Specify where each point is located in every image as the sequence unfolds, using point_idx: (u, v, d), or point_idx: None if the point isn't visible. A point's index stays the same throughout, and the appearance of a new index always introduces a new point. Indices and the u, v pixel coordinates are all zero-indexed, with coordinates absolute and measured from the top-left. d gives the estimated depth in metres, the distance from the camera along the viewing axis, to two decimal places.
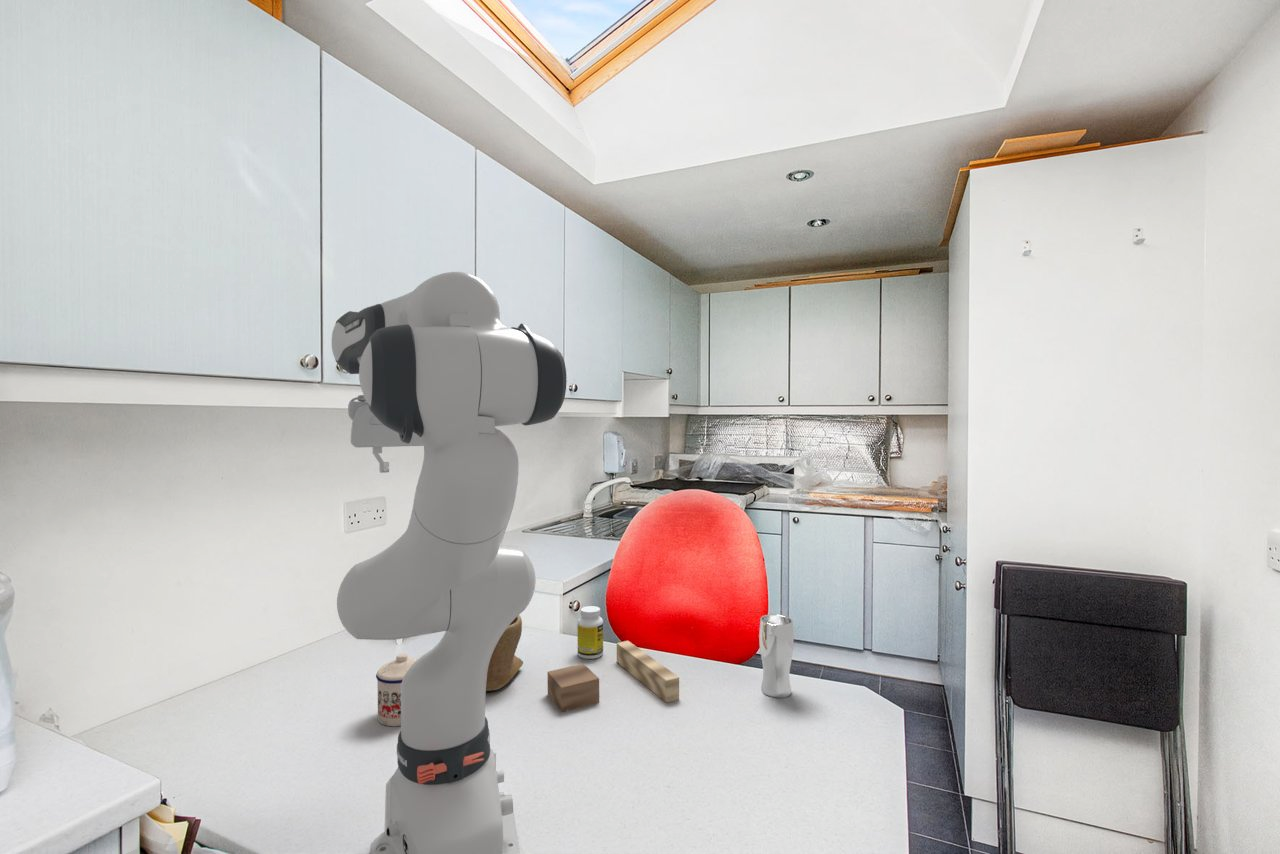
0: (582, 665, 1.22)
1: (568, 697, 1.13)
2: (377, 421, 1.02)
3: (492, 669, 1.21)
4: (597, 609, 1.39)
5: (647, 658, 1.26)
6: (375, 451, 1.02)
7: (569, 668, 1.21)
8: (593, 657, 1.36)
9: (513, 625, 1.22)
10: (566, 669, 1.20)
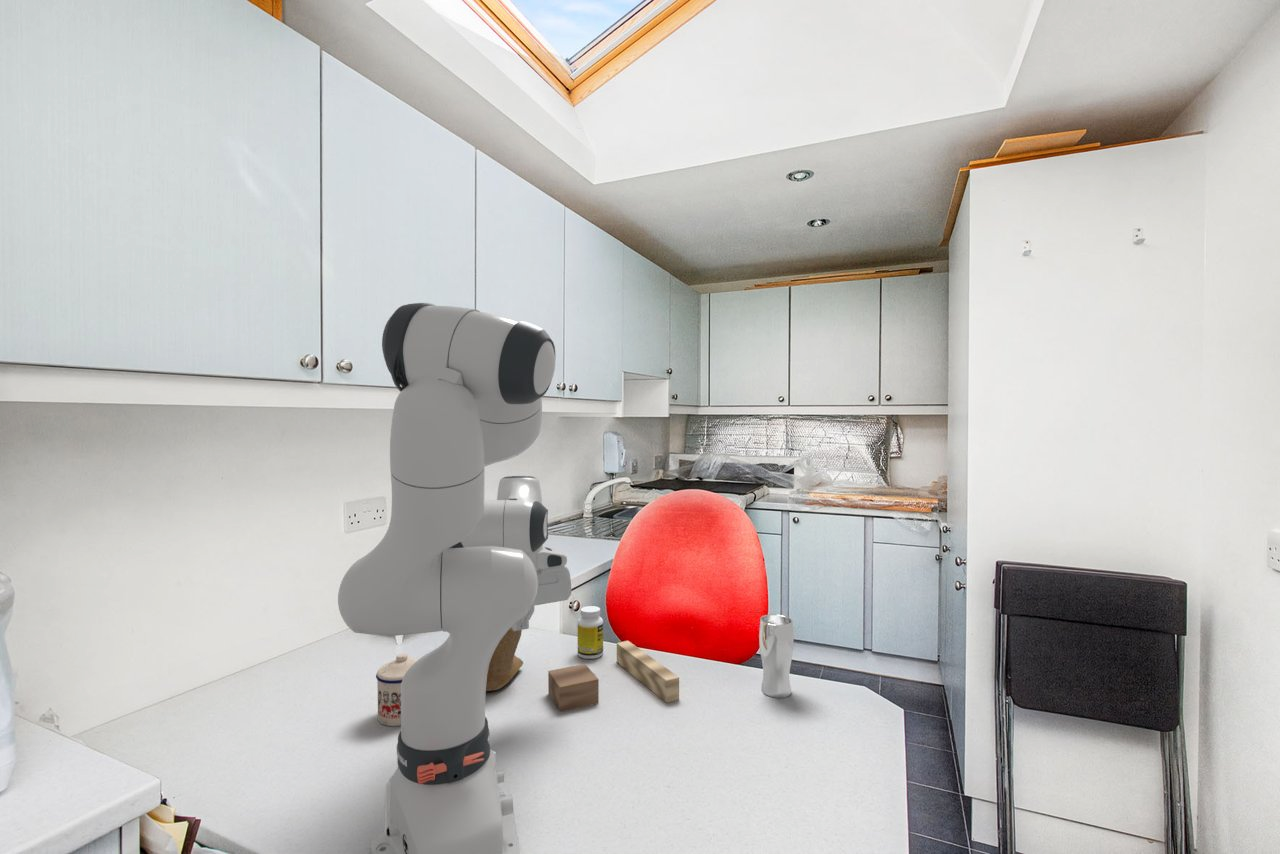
0: (583, 665, 1.22)
1: (566, 697, 1.13)
2: None
3: (492, 669, 1.21)
4: (597, 609, 1.39)
5: (647, 658, 1.26)
6: None
7: (570, 668, 1.21)
8: (593, 657, 1.36)
9: None
10: (567, 669, 1.20)
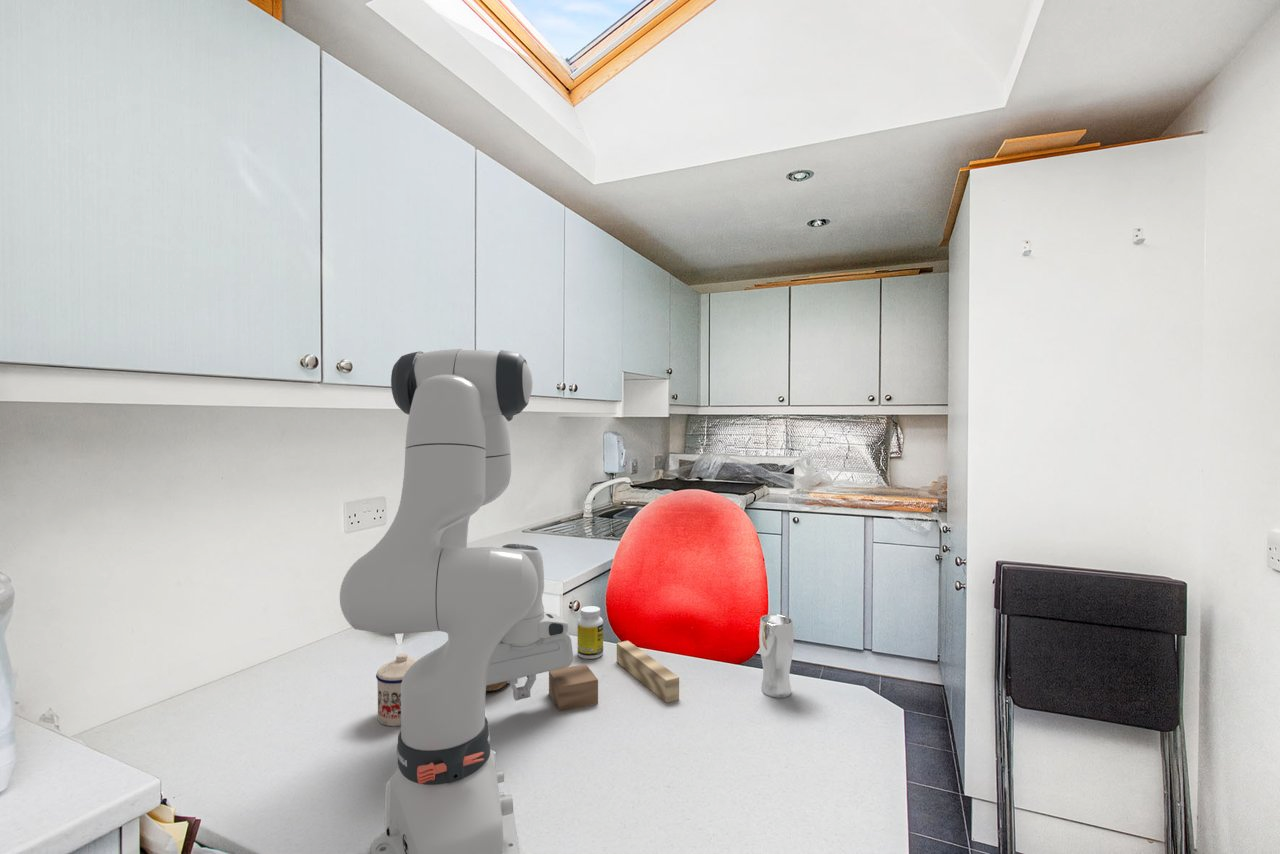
0: (584, 665, 1.22)
1: (566, 697, 1.13)
2: (493, 660, 1.08)
3: None
4: (597, 609, 1.39)
5: (647, 658, 1.26)
6: (512, 682, 1.10)
7: (571, 668, 1.21)
8: (593, 657, 1.36)
9: None
10: (567, 669, 1.20)
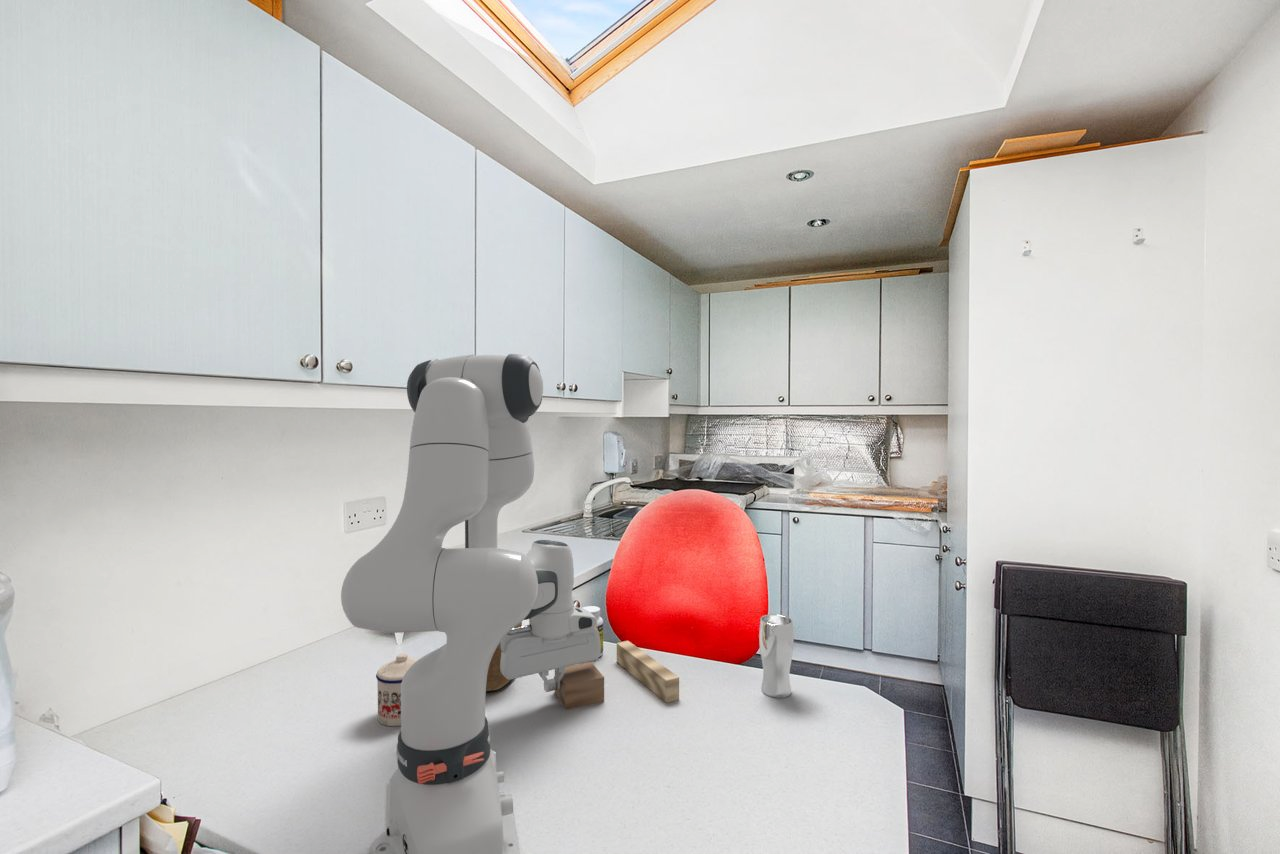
0: (590, 663, 1.23)
1: (572, 694, 1.14)
2: (525, 652, 1.11)
3: (492, 669, 1.21)
4: (597, 609, 1.39)
5: (647, 658, 1.26)
6: (543, 675, 1.14)
7: (576, 666, 1.22)
8: None
9: None
10: (573, 667, 1.21)
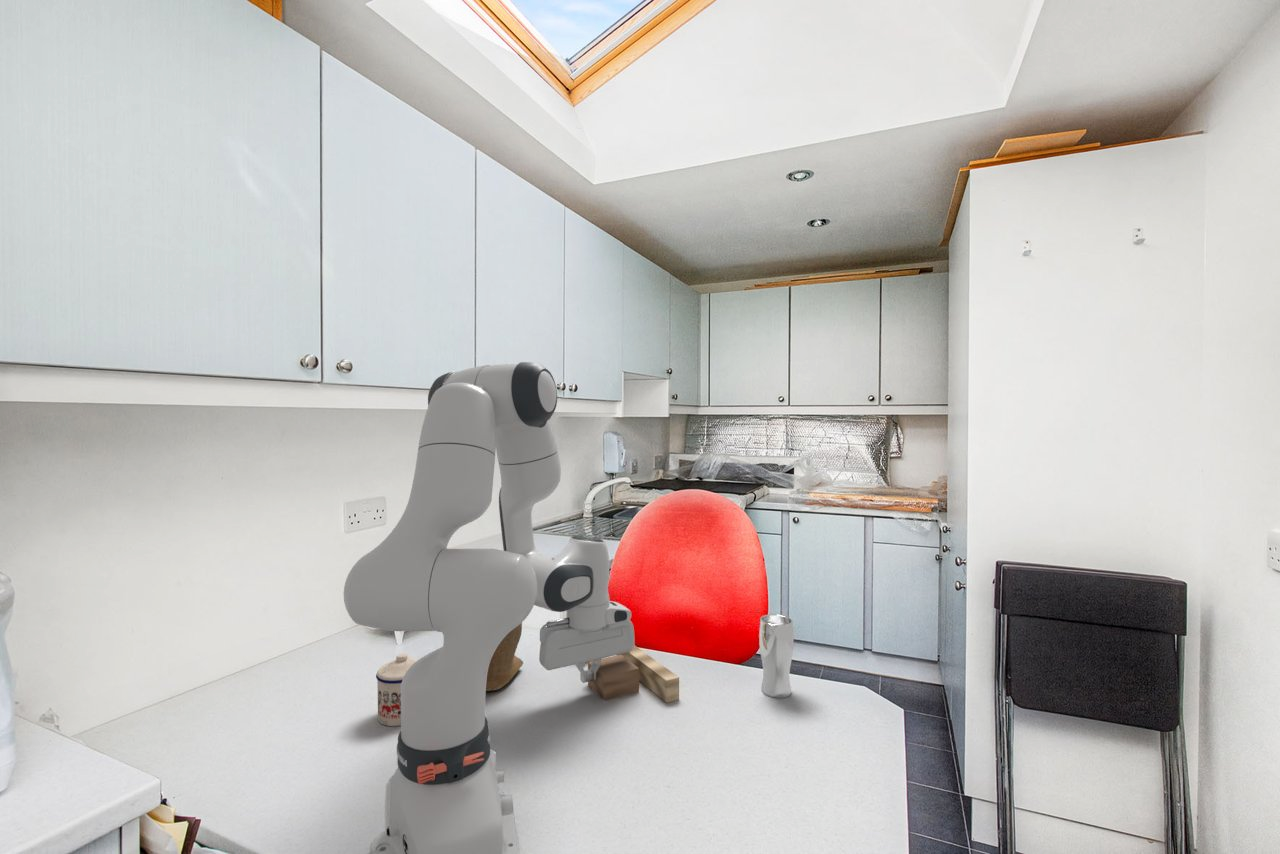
0: (620, 656, 1.27)
1: (610, 686, 1.18)
2: (564, 644, 1.15)
3: (492, 669, 1.21)
4: None
5: (647, 658, 1.26)
6: (580, 666, 1.18)
7: (608, 659, 1.25)
8: None
9: None
10: (605, 660, 1.25)
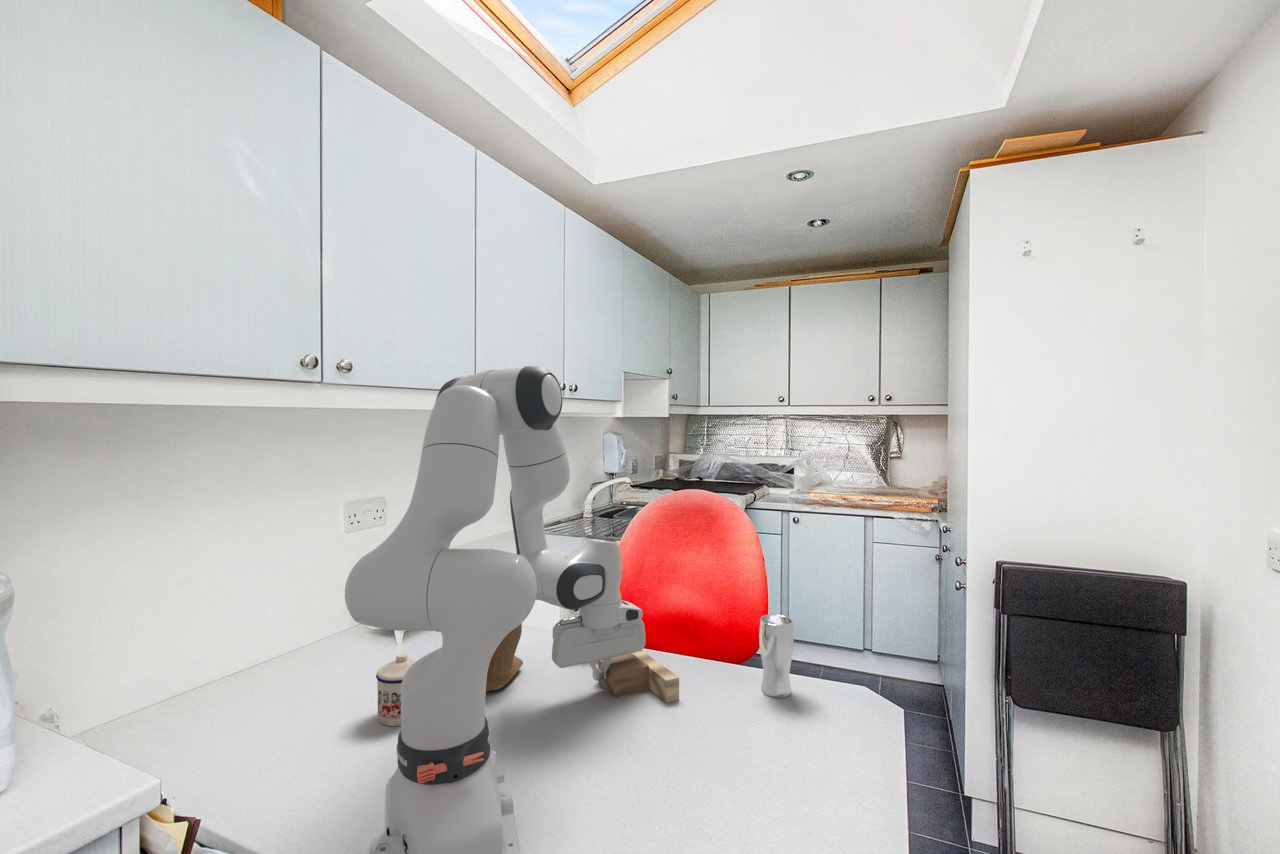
0: (630, 654, 1.28)
1: (621, 683, 1.19)
2: (576, 642, 1.16)
3: (492, 669, 1.21)
4: None
5: (647, 658, 1.26)
6: (593, 664, 1.19)
7: (618, 656, 1.26)
8: None
9: None
10: (616, 657, 1.26)
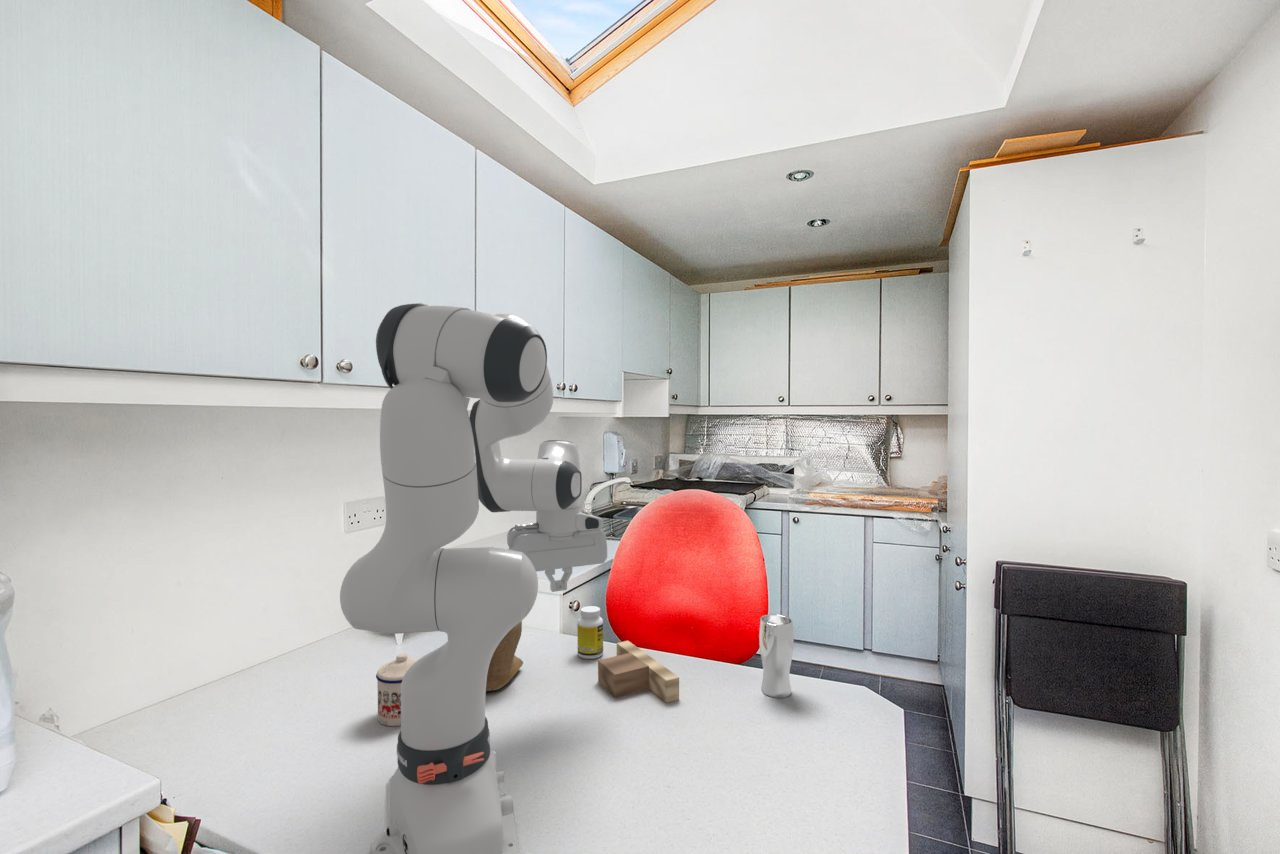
0: (630, 654, 1.28)
1: (621, 684, 1.19)
2: (532, 548, 1.12)
3: (492, 669, 1.21)
4: (597, 609, 1.39)
5: (647, 658, 1.26)
6: (549, 573, 1.14)
7: (618, 657, 1.26)
8: (593, 657, 1.36)
9: None
10: (615, 658, 1.26)
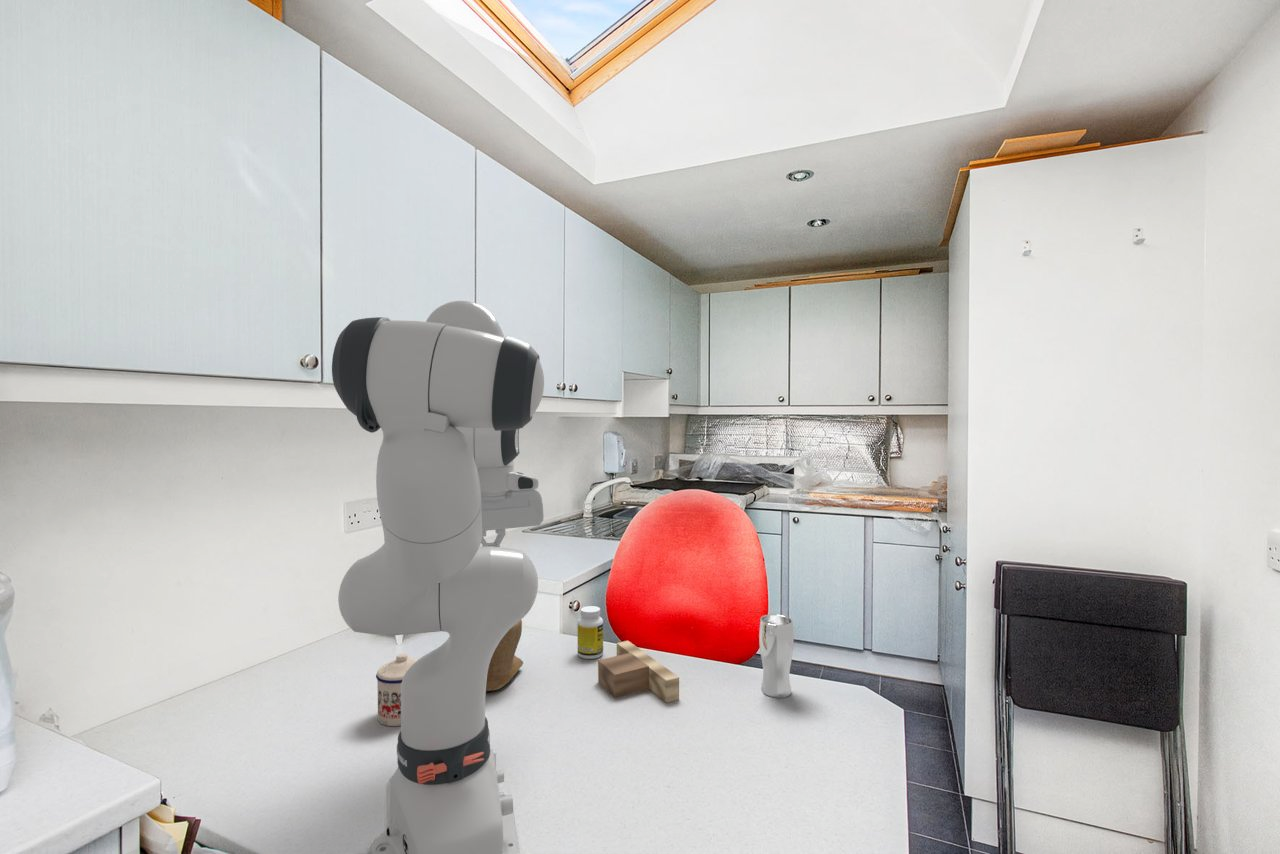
0: (630, 654, 1.28)
1: (621, 684, 1.19)
2: None
3: (492, 669, 1.21)
4: (597, 609, 1.39)
5: (647, 658, 1.26)
6: None
7: (618, 657, 1.26)
8: (593, 657, 1.36)
9: None
10: (615, 658, 1.26)
